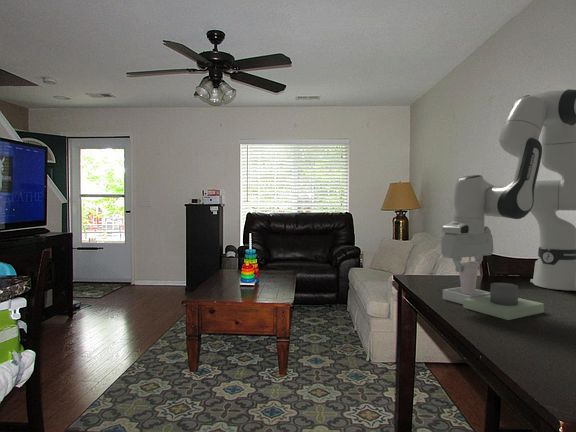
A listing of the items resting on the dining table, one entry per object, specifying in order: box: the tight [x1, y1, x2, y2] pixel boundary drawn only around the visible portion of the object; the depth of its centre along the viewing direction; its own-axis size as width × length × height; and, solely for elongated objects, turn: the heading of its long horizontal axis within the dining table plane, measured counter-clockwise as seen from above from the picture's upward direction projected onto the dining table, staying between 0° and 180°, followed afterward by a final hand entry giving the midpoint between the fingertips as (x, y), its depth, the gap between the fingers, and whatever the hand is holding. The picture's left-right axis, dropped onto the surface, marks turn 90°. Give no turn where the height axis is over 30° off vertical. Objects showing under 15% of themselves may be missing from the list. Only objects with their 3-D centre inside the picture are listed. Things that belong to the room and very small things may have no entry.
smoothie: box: [458, 257, 479, 294], centre depth 127 cm, size 6×6×14 cm
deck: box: [442, 282, 545, 321], centre depth 121 cm, size 16×24×8 cm, turn 27°
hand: (467, 270), depth 127 cm, fingers closed on smoothie, 6 cm apart
